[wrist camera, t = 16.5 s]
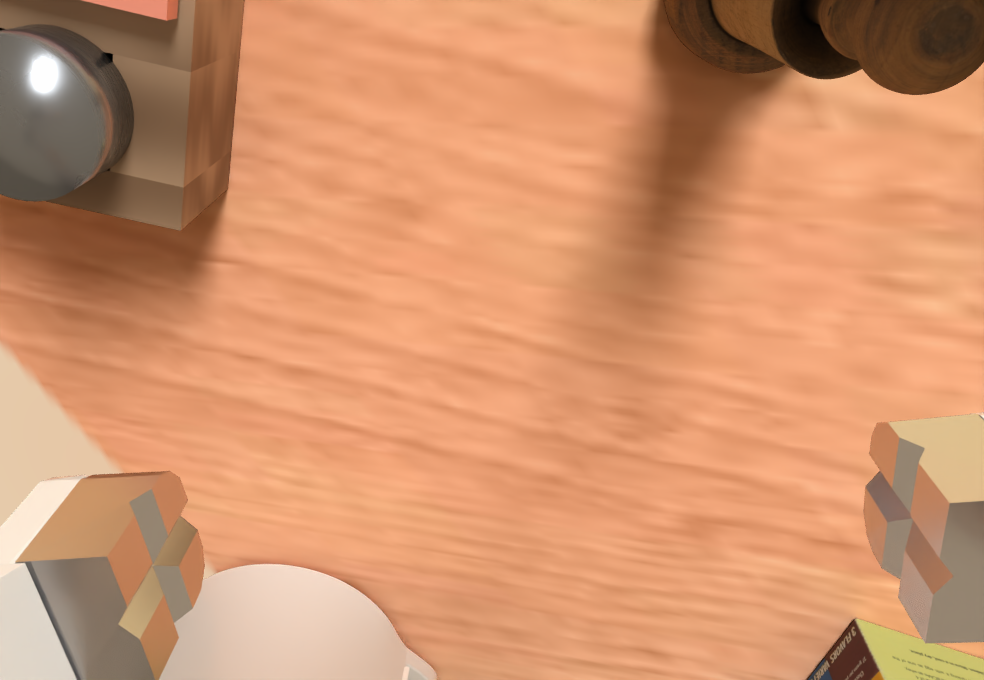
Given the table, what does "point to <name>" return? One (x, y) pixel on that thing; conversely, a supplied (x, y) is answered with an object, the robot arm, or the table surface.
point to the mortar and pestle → (839, 38)
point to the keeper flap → (144, 7)
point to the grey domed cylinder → (58, 112)
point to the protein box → (893, 658)
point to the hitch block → (158, 103)
